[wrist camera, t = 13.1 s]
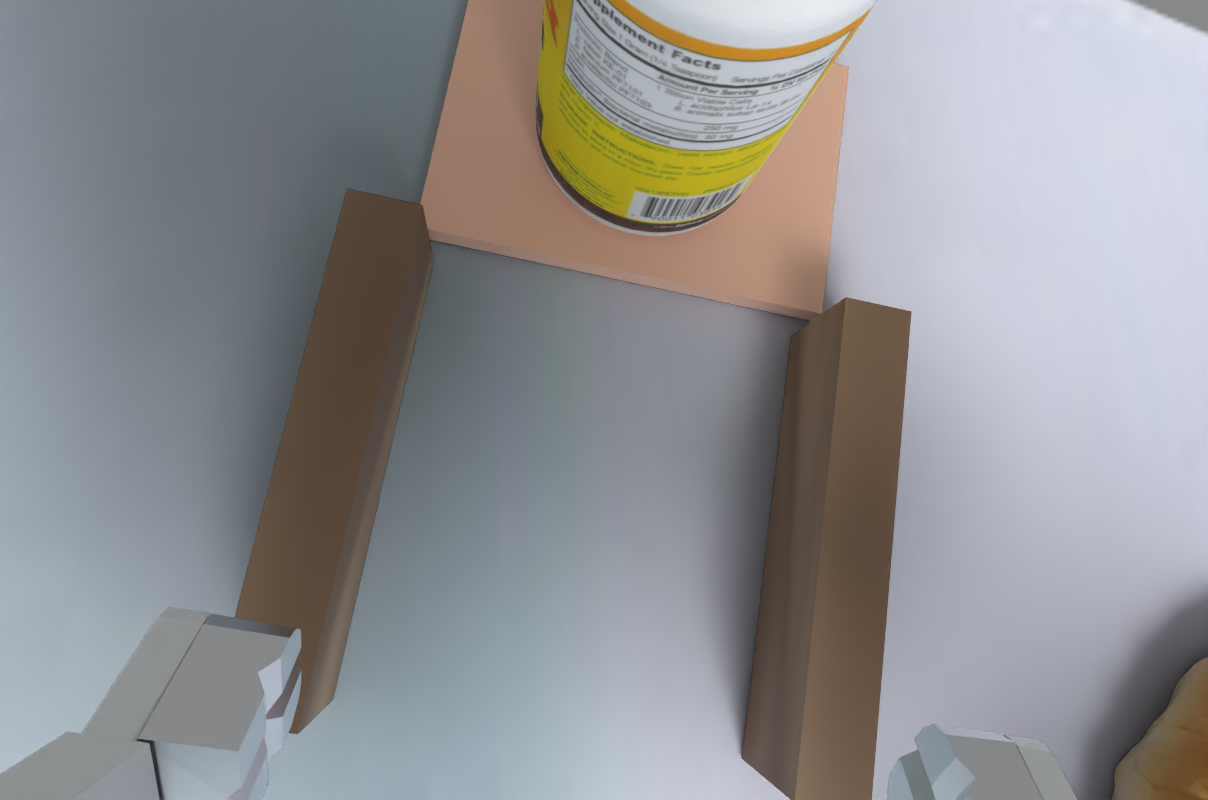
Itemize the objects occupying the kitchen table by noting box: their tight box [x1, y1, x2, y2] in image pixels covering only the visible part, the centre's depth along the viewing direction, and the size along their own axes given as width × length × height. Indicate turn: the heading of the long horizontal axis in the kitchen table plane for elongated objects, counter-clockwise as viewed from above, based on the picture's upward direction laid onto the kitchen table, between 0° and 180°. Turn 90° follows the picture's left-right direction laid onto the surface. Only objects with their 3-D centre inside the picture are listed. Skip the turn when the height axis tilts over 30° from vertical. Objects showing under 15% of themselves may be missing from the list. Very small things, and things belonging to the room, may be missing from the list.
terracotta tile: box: [420, 0, 849, 321], centre depth 19 cm, size 10×7×1 cm
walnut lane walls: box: [235, 189, 911, 800], centre depth 16 cm, size 12×10×3 cm
